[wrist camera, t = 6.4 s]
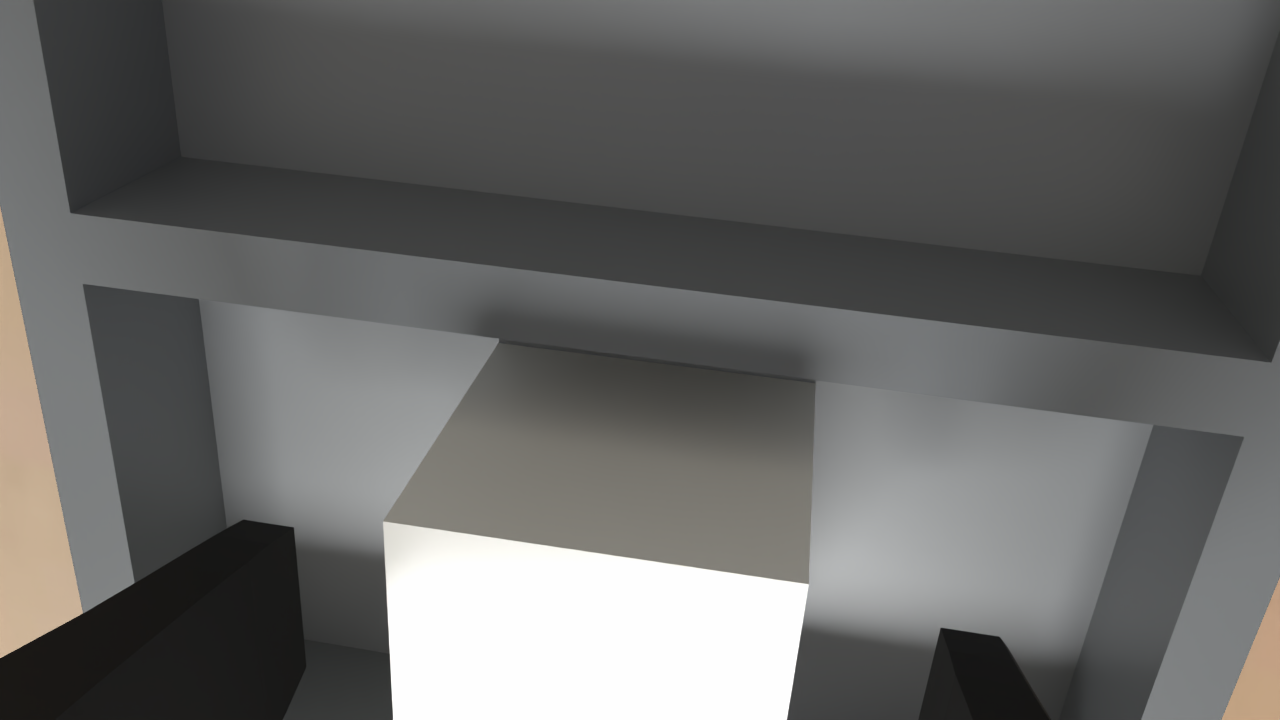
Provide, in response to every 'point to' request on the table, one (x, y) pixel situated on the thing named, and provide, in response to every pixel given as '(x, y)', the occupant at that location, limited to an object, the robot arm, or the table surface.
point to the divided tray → (683, 296)
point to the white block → (604, 545)
